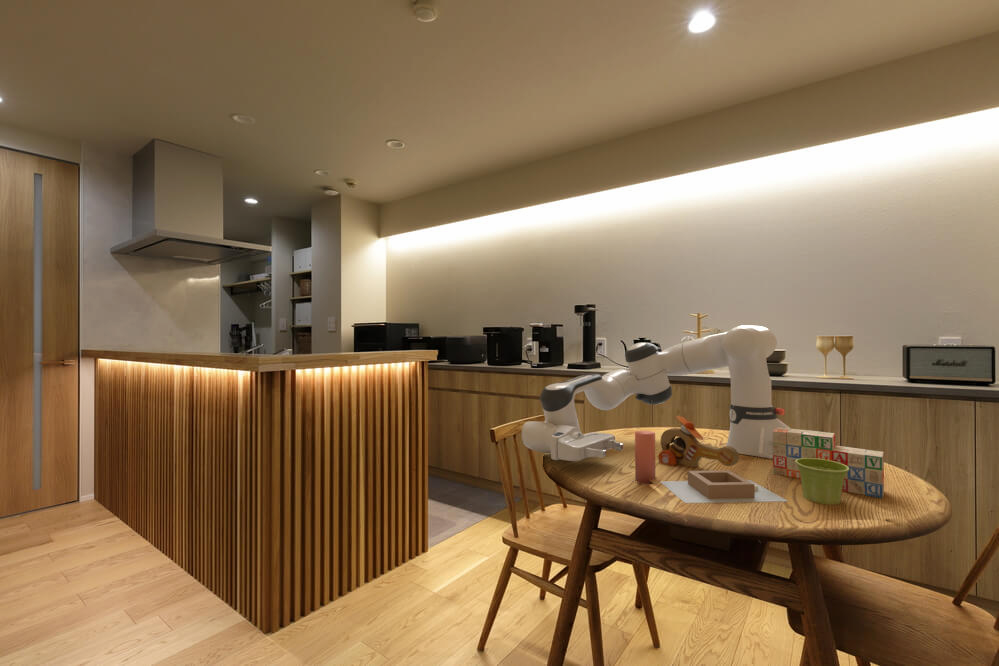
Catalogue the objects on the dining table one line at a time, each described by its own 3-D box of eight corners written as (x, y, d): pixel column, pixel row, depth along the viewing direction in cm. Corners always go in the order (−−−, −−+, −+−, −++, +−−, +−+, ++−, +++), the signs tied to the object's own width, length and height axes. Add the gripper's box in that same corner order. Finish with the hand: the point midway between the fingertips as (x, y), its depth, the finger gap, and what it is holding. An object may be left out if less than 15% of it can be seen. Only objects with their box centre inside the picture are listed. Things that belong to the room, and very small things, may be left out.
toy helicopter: (670, 460, 131) (670, 412, 131) (745, 478, 115) (745, 423, 115) (654, 465, 126) (653, 416, 126) (730, 484, 110) (729, 428, 110)
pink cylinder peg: (651, 477, 115) (651, 430, 115) (658, 484, 110) (658, 434, 110) (632, 478, 115) (632, 430, 115) (639, 484, 110) (638, 435, 110)
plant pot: (853, 504, 97) (852, 463, 97) (845, 517, 90) (844, 473, 90) (801, 493, 103) (801, 455, 103) (790, 504, 97) (790, 464, 97)
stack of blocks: (884, 492, 104) (884, 438, 104) (883, 499, 100) (882, 443, 100) (778, 472, 119) (777, 426, 119) (772, 478, 115) (771, 429, 115)
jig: (749, 484, 109) (749, 467, 109) (788, 506, 95) (788, 486, 95) (659, 486, 109) (659, 468, 109) (685, 508, 95) (685, 488, 95)
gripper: (589, 446, 135) (632, 454, 126) (547, 460, 120) (593, 471, 111) (589, 425, 135) (632, 432, 126) (547, 436, 120) (593, 445, 111)
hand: (613, 450), depth 118 cm, fingers open, 8 cm apart
